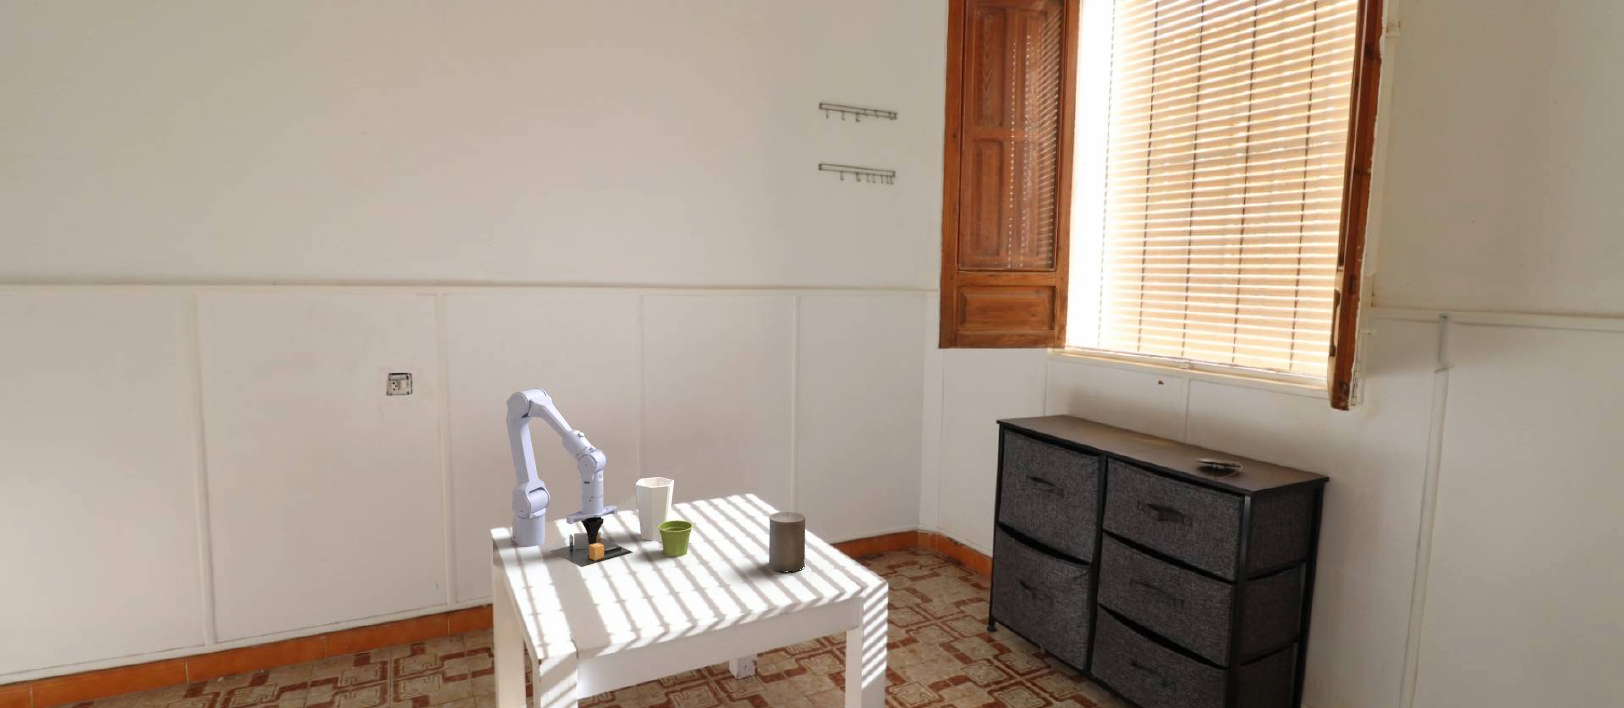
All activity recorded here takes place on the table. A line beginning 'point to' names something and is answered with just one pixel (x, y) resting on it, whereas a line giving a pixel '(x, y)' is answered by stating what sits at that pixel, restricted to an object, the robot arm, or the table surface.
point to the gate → (584, 540)
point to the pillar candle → (787, 541)
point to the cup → (653, 505)
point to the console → (582, 554)
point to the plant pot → (675, 537)
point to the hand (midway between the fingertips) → (592, 543)
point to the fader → (596, 551)
